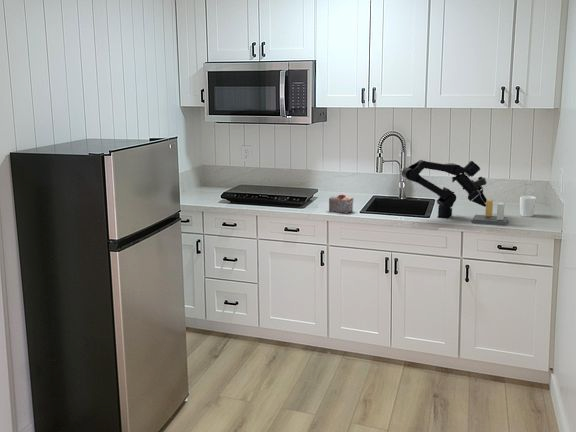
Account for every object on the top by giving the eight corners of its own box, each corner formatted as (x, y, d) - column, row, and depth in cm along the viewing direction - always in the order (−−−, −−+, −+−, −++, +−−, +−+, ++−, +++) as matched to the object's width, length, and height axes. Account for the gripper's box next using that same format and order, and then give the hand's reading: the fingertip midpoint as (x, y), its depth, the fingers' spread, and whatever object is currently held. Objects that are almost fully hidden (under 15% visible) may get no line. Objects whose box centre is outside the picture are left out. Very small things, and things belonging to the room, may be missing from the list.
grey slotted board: (472, 223, 299) (472, 219, 298) (475, 218, 309) (475, 214, 308) (505, 225, 292) (505, 221, 292) (507, 220, 302) (507, 216, 302)
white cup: (536, 215, 314) (538, 196, 311) (531, 217, 308) (532, 199, 306) (521, 213, 319) (523, 195, 316) (516, 215, 313) (517, 197, 311)
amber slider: (485, 216, 303) (486, 201, 301) (486, 214, 306) (487, 199, 304) (491, 216, 301) (492, 201, 300) (492, 215, 305) (493, 200, 303)
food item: (355, 211, 331) (355, 194, 329) (350, 214, 324) (350, 196, 322) (332, 209, 337) (332, 192, 335) (327, 212, 330) (327, 195, 328)
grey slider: (496, 219, 295) (497, 204, 293) (497, 218, 298) (498, 202, 297) (502, 220, 294) (504, 204, 292) (503, 218, 297) (504, 203, 295)
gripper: (475, 175, 298) (497, 197, 296) (479, 169, 315) (500, 191, 313) (459, 189, 303) (480, 211, 301) (463, 183, 320) (483, 204, 318)
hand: (486, 204), depth 308 cm, fingers open, 9 cm apart
